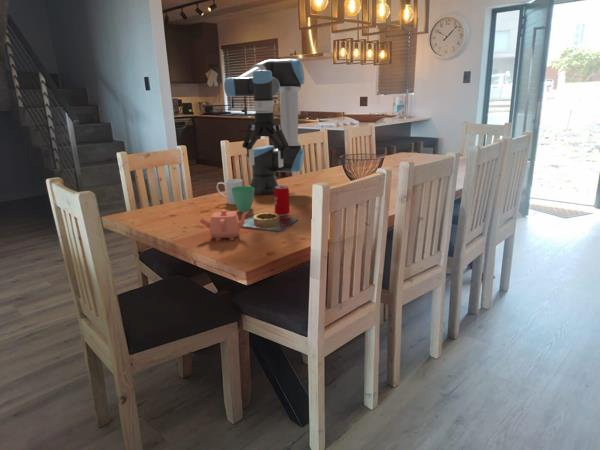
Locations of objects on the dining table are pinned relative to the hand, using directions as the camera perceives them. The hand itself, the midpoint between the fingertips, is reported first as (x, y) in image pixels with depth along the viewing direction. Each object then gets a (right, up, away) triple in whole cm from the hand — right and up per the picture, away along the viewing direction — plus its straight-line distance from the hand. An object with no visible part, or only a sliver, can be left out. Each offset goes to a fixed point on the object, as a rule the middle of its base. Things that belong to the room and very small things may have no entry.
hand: (266, 166), depth 178 cm
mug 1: (-19, -13, +29) cm, 38 cm away
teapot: (-13, -28, -19) cm, 37 cm away
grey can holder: (+1, -23, -4) cm, 24 cm away
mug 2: (-10, -17, +17) cm, 26 cm away
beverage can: (+6, -20, +8) cm, 22 cm away
